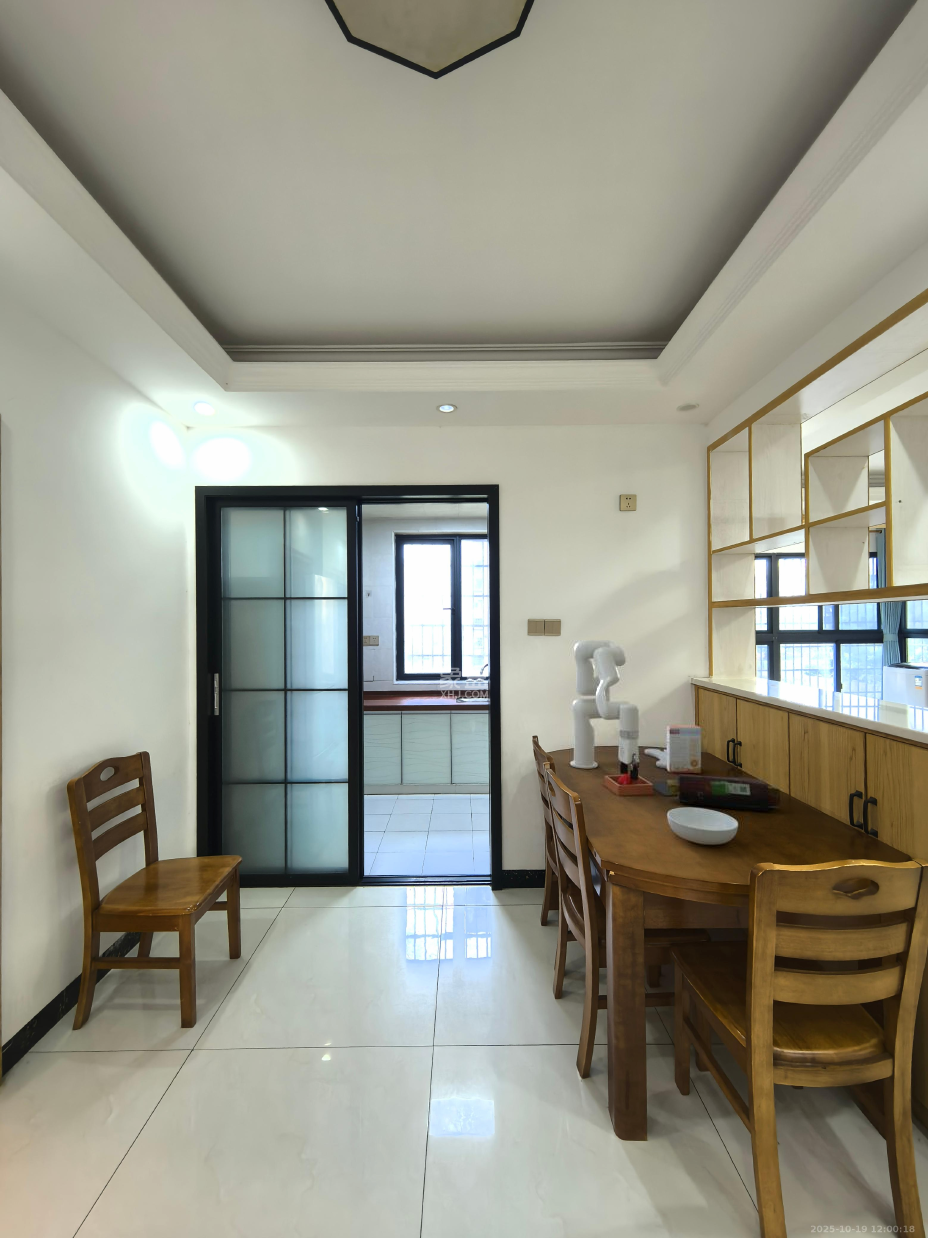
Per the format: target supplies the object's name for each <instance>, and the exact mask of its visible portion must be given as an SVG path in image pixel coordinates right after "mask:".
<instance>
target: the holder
mask: <svg viewBox="0 0 928 1238" xmlns="http://www.w3.org/2000/svg"><path fill="white" fill-rule="evenodd" d="M644 754H645V755H646V756H649V757H653V758H656V759H658V760H657V761H656V763H655V765H656V767H658V768H661V769H663V770H667V748H666V749H665V748H664V749H663V751H662V750H661V749H659V748H658V749H657V748H646V749H644Z"/></svg>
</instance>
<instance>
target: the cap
mask: <svg viewBox="0 0 928 1238" xmlns="http://www.w3.org/2000/svg"><path fill="white" fill-rule="evenodd" d="M622 775H623V776H621V777H620V778H619V780H618V784H619V785H633V784H632V780H630V773H628V774H622Z"/></svg>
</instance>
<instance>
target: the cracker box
mask: <svg viewBox="0 0 928 1238" xmlns="http://www.w3.org/2000/svg"><path fill="white" fill-rule="evenodd" d="M666 750H667V769H666V770H667V771H668V772H669V773H675V774H676V773H677V774H702V727H700V726H698V725H686V724H685V725H684V724H667V725H666Z"/></svg>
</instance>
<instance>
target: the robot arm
mask: <svg viewBox="0 0 928 1238" xmlns="http://www.w3.org/2000/svg"><path fill="white" fill-rule="evenodd" d="M573 650H574V651H573V656H574V661H575V666H576V670H575V690H576V693H577V695H579V696H583V697H589V698H578V699H576V700H574V701H573V703H572V704H571V706H572V707H571V711H572V718H573V760H572V761H570V763H569V765H570V766H571V767H573V768H576V769H583V770H584V769H586V770H587V769H590V770H591V769H596V768H597V767H598V762H596V761H595V731H596V730H595V726H594V725H593V723H592V722H591V720H593V719H594V720H595V719H603V720H606V721H616V720H618V721H619V739H618V740H619V741H618V753H617V754H618V755H617V756H618V760H619V768H620V769H619V773H620V774H619V775H625V774H630V780H638V775H639V770H640V759H639V758H640V755H639V754H640V753H639V741H638V740H639V738H640V736H639V735H640V734H639V733H640V730H639V729H640V726H639V723H640V721H639V720H640V717H639V715H640V714H639V712H640V711H639V706H638V705H637V704H634V703H630V701H629V702H628V701H624V700H623V701H619V700H618V701H617V700H616V701H611V700H610V699H611V687H612V686H615V685H616V684H618V683H619V681H620V680H621V676H620V674H619V671H618V668H617V667H622V666H624V665H625V664H626V662H627V655H626V652H625V650H624V649H623V647H621V646H620V645H618V644H616V643H615V642H613V641H611V640H596V639H595V640H594V639H590V640H587V639H586V640H581V641H578V642H577V643H575V645H574V649H573ZM593 661H594V662H593ZM595 671H597V675H595V674H596V673H595ZM594 696H595V698H593V697H594ZM590 697H591V698H590ZM629 767H630V770H629Z"/></svg>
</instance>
